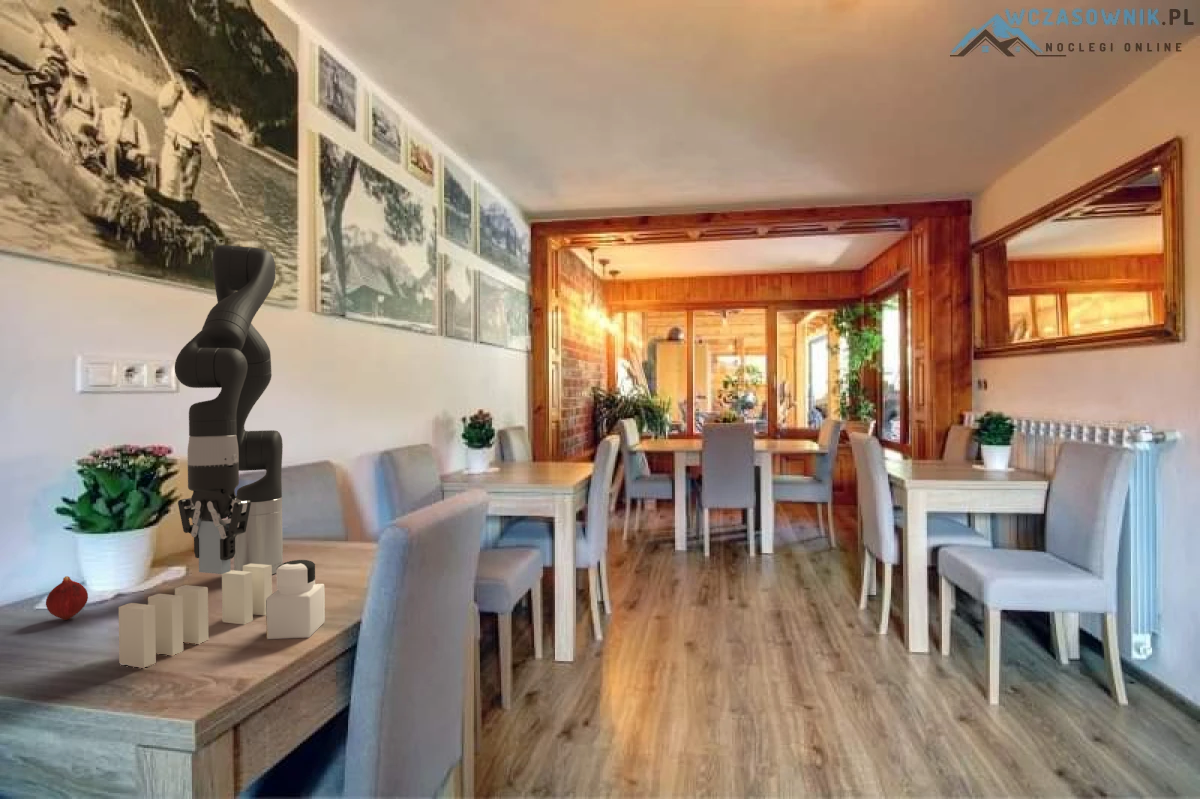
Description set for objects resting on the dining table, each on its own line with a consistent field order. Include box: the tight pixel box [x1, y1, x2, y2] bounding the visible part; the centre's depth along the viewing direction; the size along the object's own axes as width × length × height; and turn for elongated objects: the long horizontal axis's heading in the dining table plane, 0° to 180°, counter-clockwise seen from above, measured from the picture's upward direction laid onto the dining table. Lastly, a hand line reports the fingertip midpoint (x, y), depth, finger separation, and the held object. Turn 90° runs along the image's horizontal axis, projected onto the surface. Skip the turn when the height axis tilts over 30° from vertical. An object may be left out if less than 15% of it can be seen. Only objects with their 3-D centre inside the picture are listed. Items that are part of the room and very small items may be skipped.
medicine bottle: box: [265, 559, 326, 640], centre depth 104 cm, size 7×7×12 cm
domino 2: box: [147, 593, 184, 656], centre depth 96 cm, size 5×2×9 cm, turn 75°
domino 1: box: [118, 602, 157, 667], centre depth 91 cm, size 5×2×9 cm, turn 75°
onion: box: [45, 575, 89, 621], centre depth 110 cm, size 6×6×8 cm
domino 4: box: [198, 519, 232, 575], centre depth 104 cm, size 5×2×9 cm, turn 75°
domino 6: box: [243, 563, 273, 617], centre depth 113 cm, size 5×2×9 cm, turn 75°
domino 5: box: [221, 569, 254, 626], centre depth 109 cm, size 5×2×9 cm, turn 75°
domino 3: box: [174, 584, 210, 645], centre depth 100 cm, size 5×2×9 cm, turn 75°
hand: (214, 557), depth 104 cm, fingers closed on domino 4, 5 cm apart
